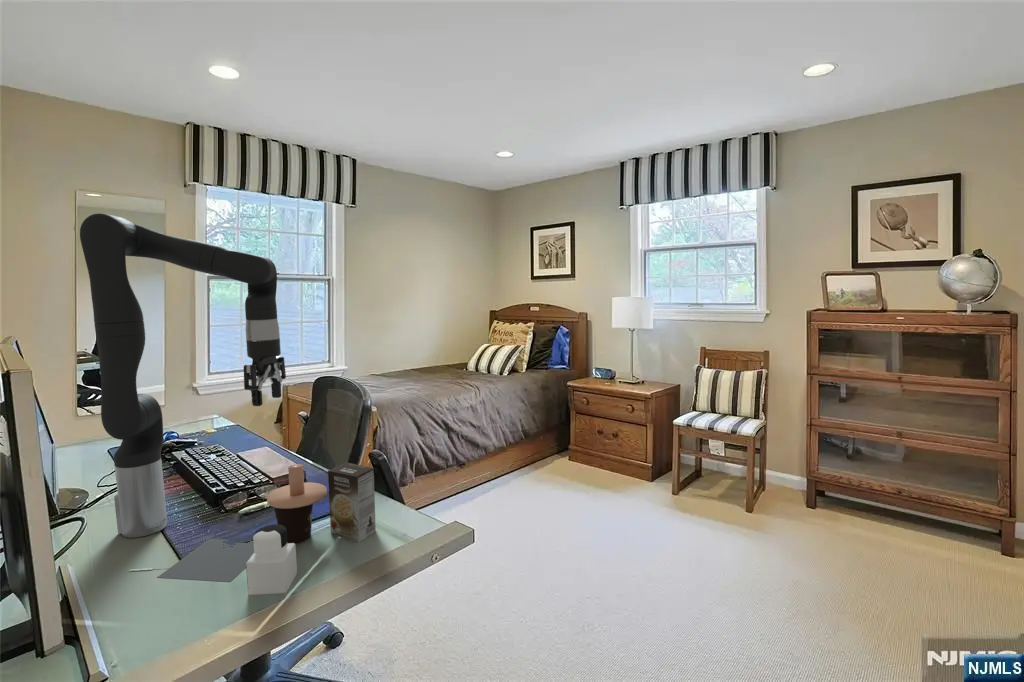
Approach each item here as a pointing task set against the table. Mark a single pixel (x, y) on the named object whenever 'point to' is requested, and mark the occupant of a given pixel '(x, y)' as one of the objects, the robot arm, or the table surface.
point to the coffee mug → (296, 522)
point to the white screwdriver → (143, 569)
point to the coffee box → (352, 501)
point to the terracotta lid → (296, 491)
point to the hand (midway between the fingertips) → (267, 401)
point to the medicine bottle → (271, 561)
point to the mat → (212, 562)
